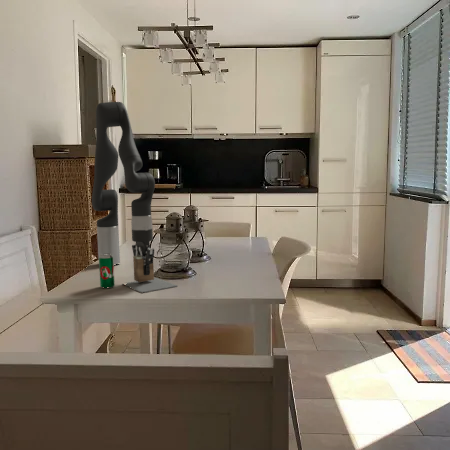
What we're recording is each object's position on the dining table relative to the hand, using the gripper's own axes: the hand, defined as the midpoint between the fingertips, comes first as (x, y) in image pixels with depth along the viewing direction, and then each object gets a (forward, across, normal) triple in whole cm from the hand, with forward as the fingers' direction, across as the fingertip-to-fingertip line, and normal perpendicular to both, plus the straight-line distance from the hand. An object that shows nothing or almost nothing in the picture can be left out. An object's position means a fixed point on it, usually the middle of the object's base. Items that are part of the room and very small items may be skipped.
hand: (143, 273), depth 177 cm
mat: (+4, +4, 0) cm, 5 cm away
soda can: (+4, -4, -13) cm, 14 cm away
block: (+2, 0, 0) cm, 2 cm away
